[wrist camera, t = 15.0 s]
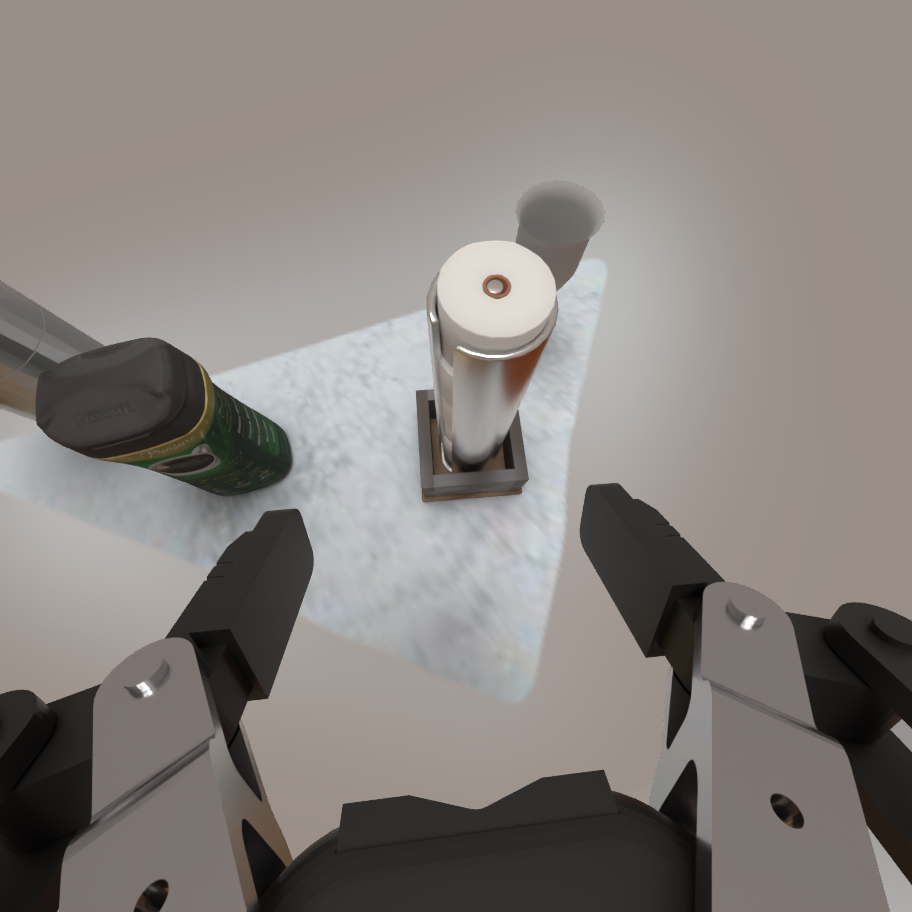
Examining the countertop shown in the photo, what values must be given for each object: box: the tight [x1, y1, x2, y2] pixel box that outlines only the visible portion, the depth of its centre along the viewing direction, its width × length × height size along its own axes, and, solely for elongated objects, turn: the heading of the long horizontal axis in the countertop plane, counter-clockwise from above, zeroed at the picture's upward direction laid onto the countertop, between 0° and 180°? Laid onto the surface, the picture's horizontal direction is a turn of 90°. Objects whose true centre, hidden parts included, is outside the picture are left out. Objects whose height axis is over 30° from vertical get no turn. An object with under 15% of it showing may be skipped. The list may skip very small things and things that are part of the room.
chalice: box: [516, 181, 605, 291], centre depth 37 cm, size 7×7×18 cm
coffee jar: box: [35, 338, 291, 496], centre depth 32 cm, size 10×8×19 cm
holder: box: [416, 389, 529, 502], centre depth 38 cm, size 11×11×6 cm
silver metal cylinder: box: [427, 240, 558, 474], centre depth 28 cm, size 6×6×25 cm
